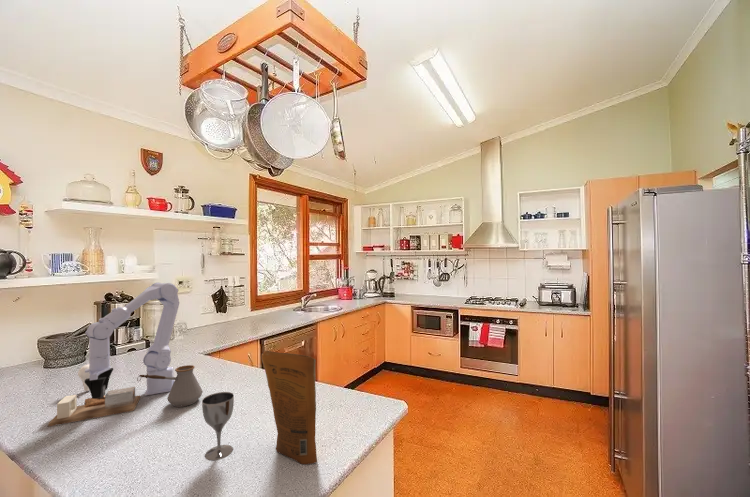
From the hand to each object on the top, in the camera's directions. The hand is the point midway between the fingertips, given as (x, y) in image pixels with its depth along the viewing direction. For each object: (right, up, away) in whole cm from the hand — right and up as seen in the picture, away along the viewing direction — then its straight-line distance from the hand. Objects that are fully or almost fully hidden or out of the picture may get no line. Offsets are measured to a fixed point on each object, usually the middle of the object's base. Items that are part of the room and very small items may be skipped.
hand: (99, 393), depth 119 cm
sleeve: (+6, -6, +3) cm, 8 cm away
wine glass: (+56, -4, -27) cm, 62 cm away
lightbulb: (-20, -7, +18) cm, 28 cm away
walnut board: (0, -6, 0) cm, 6 cm away
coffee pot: (+25, -6, +1) cm, 26 cm away
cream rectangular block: (-8, -6, -4) cm, 11 cm away
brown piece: (+3, -4, +1) cm, 5 cm away
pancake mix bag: (+77, -4, -29) cm, 82 cm away
